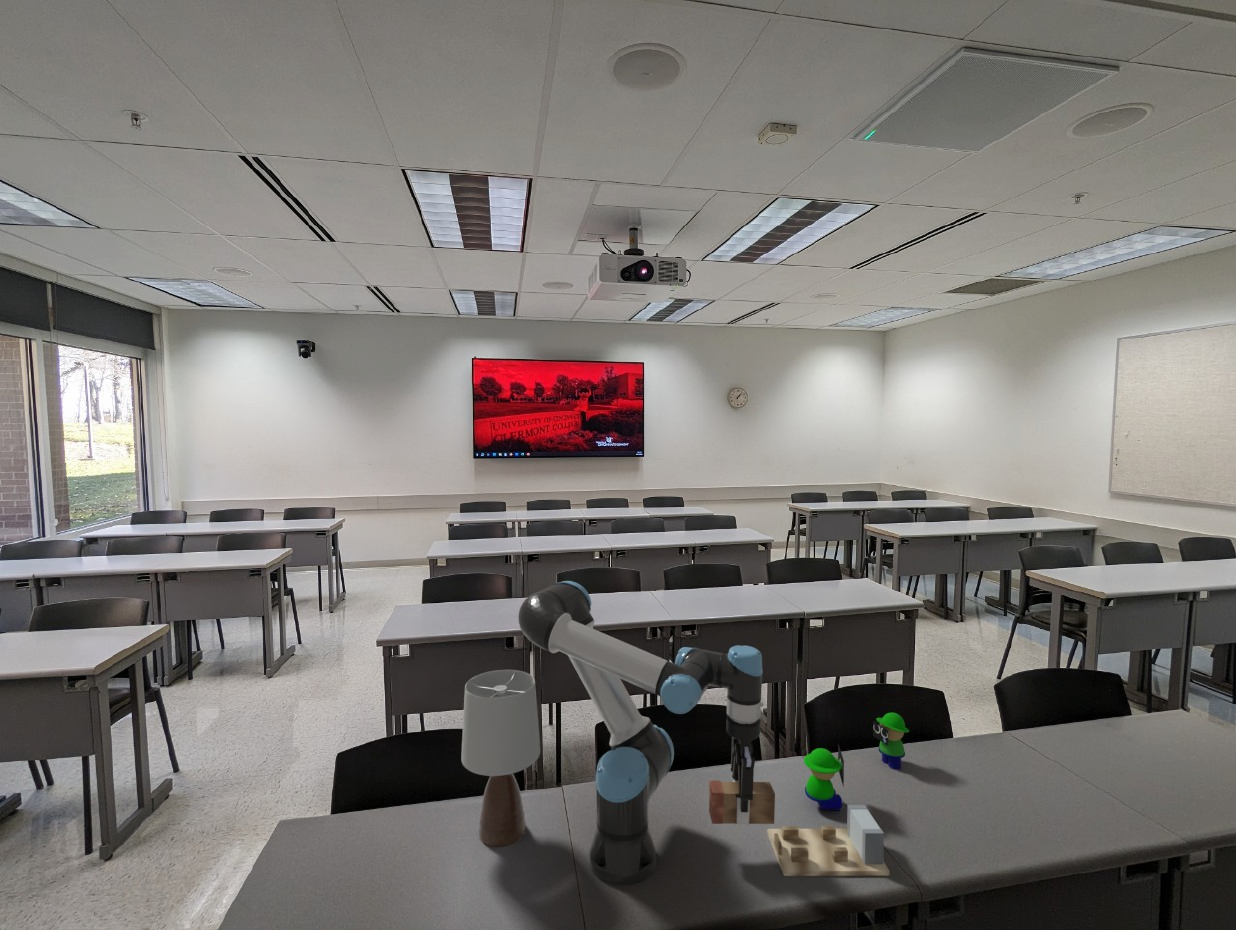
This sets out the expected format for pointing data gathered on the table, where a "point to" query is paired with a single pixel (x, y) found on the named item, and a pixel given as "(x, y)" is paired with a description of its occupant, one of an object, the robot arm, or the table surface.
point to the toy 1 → (824, 778)
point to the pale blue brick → (865, 834)
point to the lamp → (500, 747)
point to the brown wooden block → (726, 803)
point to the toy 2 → (890, 738)
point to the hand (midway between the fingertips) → (740, 815)
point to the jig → (820, 853)
